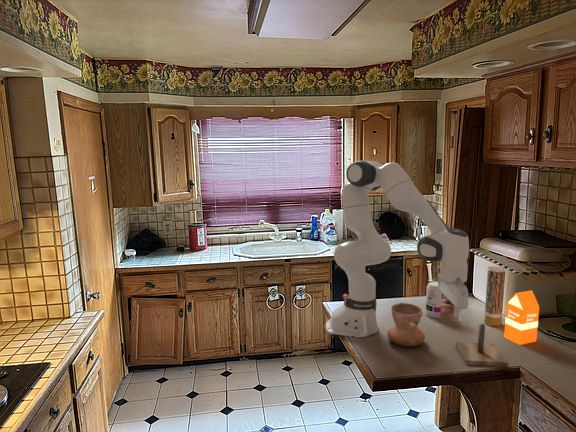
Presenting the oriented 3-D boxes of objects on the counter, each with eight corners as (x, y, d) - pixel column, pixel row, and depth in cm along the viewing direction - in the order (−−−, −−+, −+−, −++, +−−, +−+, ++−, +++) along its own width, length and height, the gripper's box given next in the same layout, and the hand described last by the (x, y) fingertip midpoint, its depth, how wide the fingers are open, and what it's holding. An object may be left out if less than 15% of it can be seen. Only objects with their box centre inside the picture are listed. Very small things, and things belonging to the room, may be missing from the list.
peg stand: (465, 364, 152) (467, 331, 150) (455, 345, 166) (457, 315, 163) (506, 366, 150) (509, 333, 148) (493, 347, 164) (495, 317, 162)
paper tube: (484, 325, 183) (488, 270, 179) (483, 319, 189) (487, 265, 185) (502, 328, 181) (506, 271, 176) (500, 321, 187) (504, 267, 183)
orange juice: (503, 336, 173) (507, 290, 169) (520, 333, 176) (524, 287, 172) (520, 345, 166) (524, 296, 162) (536, 341, 168) (541, 293, 165)
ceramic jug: (430, 351, 161) (432, 316, 159) (392, 352, 161) (394, 316, 159) (416, 332, 179) (417, 299, 177) (382, 332, 179) (383, 300, 177)
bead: (440, 318, 151) (441, 304, 150) (441, 311, 157) (441, 298, 156) (458, 320, 149) (459, 307, 148) (458, 314, 155) (459, 301, 154)
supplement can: (446, 313, 196) (447, 282, 194) (441, 320, 190) (443, 288, 187) (428, 310, 201) (429, 280, 198) (423, 316, 194) (424, 285, 191)
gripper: (474, 284, 140) (471, 323, 142) (452, 266, 160) (450, 300, 162) (455, 284, 140) (452, 323, 142) (435, 266, 160) (433, 300, 162)
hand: (451, 311), depth 152 cm, fingers closed on bead, 7 cm apart
